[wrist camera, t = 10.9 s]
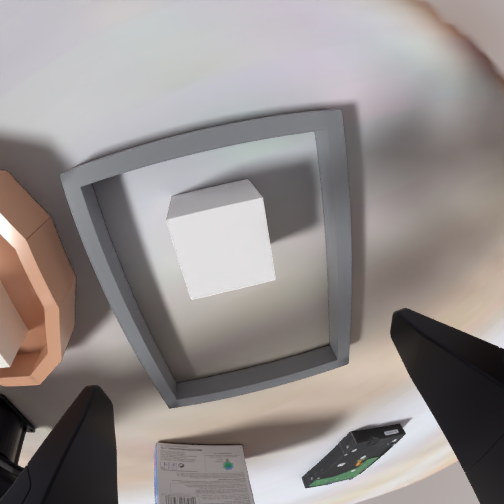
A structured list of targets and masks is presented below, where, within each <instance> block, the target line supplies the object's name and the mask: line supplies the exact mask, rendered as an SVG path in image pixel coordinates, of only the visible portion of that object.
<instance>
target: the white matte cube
mask: <svg viewBox="0 0 504 504" xmlns="http://www.w3.org/2000/svg"><path fill="white" fill-rule="evenodd" d="M28 331H29V330H28V328H27V327H26V325H25V323H24V322H23V320H22V318H21V317H20V315H19V313H18V312H17V310H16V308H15V307H14V305H13V303H12V301H11V299H10V298H9V296H8V294H7V292H6V290H5V288H4V286H3V284H2V282H1V281H0V368H5V367H10V366H11V364H12V362H13V360H14V358H15V356H16V354H17V352H18V350H19V348H20V346H21V344H22V342H23V340H24V338H25V336H26V335H27V333H28Z"/></svg>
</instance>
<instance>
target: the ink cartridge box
mask: <svg viewBox="0 0 504 504" xmlns="http://www.w3.org/2000/svg"><path fill="white" fill-rule="evenodd" d="M154 486H155V504H255V503H254V499H253V494H252V490H251V485H250V481H249V476H248V471H247V467H246V462H245V457H244V451H243V446H242V445H184V444H168V443H156V450H155V468H154Z"/></svg>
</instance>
